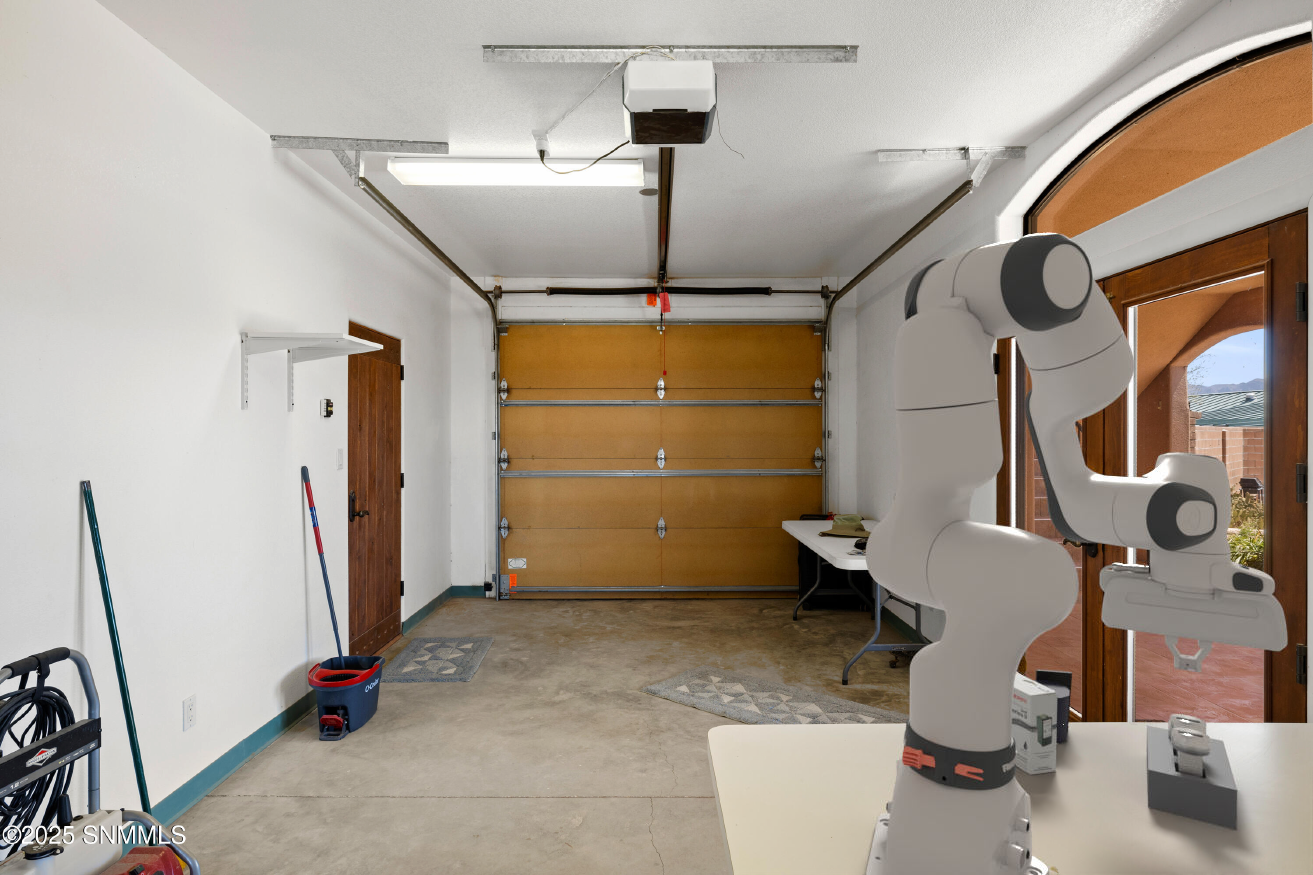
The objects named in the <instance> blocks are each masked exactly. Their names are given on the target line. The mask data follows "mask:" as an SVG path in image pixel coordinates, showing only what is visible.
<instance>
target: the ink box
mask: <svg viewBox="0 0 1313 875" xmlns="http://www.w3.org/2000/svg"><path fill="white" fill-rule="evenodd" d="M1012 736H1013V738H1014V739H1015V744H1016V751H1017V762H1016V768H1017V767H1018V768H1019V769H1020V770H1022V771H1024V772H1025V773H1027V774H1028V775H1038V774H1039V775H1040V774H1045V773H1051V772H1056V770H1057V744H1056V737H1057V693H1056V692H1055V691H1054V690H1052V689H1050V688H1048V687H1046V686H1044V685H1042V684H1039V683H1037V682H1035V680H1033V679H1031V678H1029V677H1027V676H1025V675H1022V674H1021V673H1017V672H1016V676H1015V681H1014V692H1013V707H1012Z"/></svg>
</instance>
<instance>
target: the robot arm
mask: <svg viewBox="0 0 1313 875" xmlns="http://www.w3.org/2000/svg"><path fill="white" fill-rule="evenodd" d="M904 296H905V297H904V306H903V307H904V310H903V311H904V322H903V323H902V325H901V326H900V327H899V329H898V331H897V334H896V337H895V344H894V345H895V346H894V354H893V355H894V357H893V378H892V379H893V400H894V401H893V402H894V411H895V421H896V422H895V423H896V433H897V436H896V437H897V449H898V450H897V451H898V463H899V465H898V466H899V469H898V480H897V486H896V490H895V495H894V498H893V501H892V504H891V506H890V509H889V511H888V512H887V514H886V516H884V518H883V519H882V520H881V521H880V522H878V523H877V524H876V525H875V527H874V528H873V529H872V531H871V533H870V535H869V536H868V540H867V542H866V546H865V562H866V566H867V567H866V568H867V571H868V573H869V574H870V575H869V576H871V577H872V578H873V580H874V582H875V583H878V585H880V586H881V587H883V588H885V589H886V590H888V591H890V592H891V593H893V594H895V595H896V596H899V597H901V598H902V599H904V600H906V601H910V602H914V603H917V604H918V605H919V604H920V605H923V606H927V607H930V608H933V609H936V610H942V611H943V612H944V613H945V625H944V626H945V627H944V630H943V633H942V636H941V638H940V640H939V641H936V642H933V643H930V644H927V645H925V646H924V647H923V648H921V649H920V650H919V651H918V652H916V654H914V656H913V658H912V660H911V662H910V665H909V717H908V719H907V721H906V724H905V730H904V733H903V750H902V753H901V754H902V756H901V757H900V758H898V759H896V776H895V783H894V788H893V794H892V800H888V801H887V803H886V806H885V807H886V811H887V812H882V813H880V814H878V815H877V820H876V824H875V829H874V833H873V838H872V843H871V847H870V852H869V856H868V861H867V866H866V869H865V870H866V871H865V875H1050V869H1049V867H1048V866H1047V865H1046V864H1045V863H1044V862H1043V861H1041V860H1039V859H1038V858H1037V857H1035V856H1034V855H1033V842H1032V841H1033V839H1032V838H1033V836H1032V832H1033V831H1032V810H1031V808H1032V806H1031V804H1032V803H1031V797H1030V795H1029V794H1028V793H1027V791H1026V790H1024V788H1023V787H1022V786H1021V784H1020V783H1019V782H1018V779H1017V778H1016V776H1015V775H1016V774H1017V766H1016V762H1017V751H1016V744H1015V739H1014V738H1013V736H1012V707H1013V692H1014V681H1015V676H1016V673H1017V672H1018V668H1019V665H1020V662H1021V660H1022V658H1023V657H1024V655H1025V653H1026V651H1027V649H1028V648H1029V646H1030V645H1031V644H1032V643H1033V642H1034V641H1035V640H1036V639H1038V637H1040V636H1041V635H1042V634H1044V633H1045V632H1048V631H1050V630H1052V629H1054V628H1056V627H1058V626H1059V625H1060V624H1061V623H1062V622H1064V621H1065V620H1066V618H1067V617H1069V615H1070V614H1071V612H1073V608H1074V607H1075V605H1076V602H1077V600H1078V596H1079V590H1080V588H1079V587H1080V584H1079V583H1080V580H1079V575H1078V569H1077V567H1076V564H1075V562H1074V559H1073V558H1072V556H1071V555H1070V553H1069V552H1068V550H1067V549H1066V548H1065V547H1064V546H1063V545H1062V544H1060V543H1058V541H1054V540H1052V539H1049V538H1046V537H1043V536H1041V535H1039V534H1036V533H1033V532H1030V531H1027V530H1024V529H1021V528H1017V527H1014V526H1012V527H1011V526H1005V525H1000V524H999V525H998V524H991V523H983V522H978V521H977V522H976V521H972V520H971V516H970V509H971V501H972V497H973V495H974V492H975V491H976V490H977V489H979V488H981V487H982V486H984V485H985V484H987V483H989V482H990V481H991V480H992V479H994V478H995V476H997V474H998V473H999V472H1000V470H1001V468H1002V465H1003V461H1004V451H1003V443H1002V442H1003V441H1002V434H1001V433H1002V431H1001V421H1000V409H999V408H1000V407H999V399H998V398H999V397H998V388H997V382H996V381H997V380H996V377H995V376H996V375H995V369H994V366H993V365H994V364H993V361H992V356H991V353H992V349H993V347H994V343H995V342H996V340H1000V339H1006V338H1011V337H1015V340H1016V343H1017V345H1018V348H1019V351H1020V353H1021V356H1022V358H1023V360H1024V363H1025V364H1026V365H1025V366H1026V367H1027V369H1028V372H1029V375H1030V378H1031V386H1032V387H1031V388H1030V389H1029V390H1028V392H1027V394H1026V397H1025V400H1024V401H1025V402H1024V411H1025V417H1026V423H1027V427H1028V430H1029V434H1030V437H1031V442H1032V446H1033V448H1034V449H1033V450H1034V452H1035V454H1036V455H1035V456H1036V459H1037V462H1038V465H1039V469H1040V472H1041V475H1042V479H1043V482H1044V486H1045V491H1046V503H1047V506H1046V507H1047V511H1048V516H1049V518H1050V522H1051V524H1053V526H1054V528H1055V529H1056V530H1057V532H1058V533H1059V534H1060V535H1061V536H1062V537H1063V538H1065V539H1066V540H1068V541H1071V542H1075V543H1086V544H1088V543H1089V544H1105V545H1109V546H1118V547H1125V548H1130V549H1140V550H1141V549H1142V550H1148V551H1149V565H1142V564H1123V563H1120V562H1114V563H1112V564H1110V565H1105V566H1104V567H1102V569H1101V570H1100V572H1099V580H1098V581H1099V583H1098V584H1099V587H1100V589H1101V590H1102V591H1103V592H1104V594H1103V599H1102V601H1103V602H1102V608H1101V617H1100V618H1101V621H1102V622H1103V623H1104V625H1105V626H1106V627H1107V628H1113V629H1119V630H1120V629H1121V630H1127V631H1133V632H1134V631H1135V632H1141V633H1148V634H1156V635H1161V636H1164V641H1165V645H1166V646H1167V648H1168V650H1169V651H1170V652H1171V654H1172V655H1173V667H1174V669H1176V670H1183V671H1189V672H1194V673H1202V662H1203V661H1204V660H1205V659H1206V658H1207V656H1208V655H1209V653H1211V652H1212V650H1213V643H1217V644H1223V645H1224V644H1225V645H1232V646H1236V647H1237V646H1239V647H1244V648H1245V647H1246V648H1253V649H1260V650H1268V651H1273V652H1281V651H1282V650H1283V649H1285V648H1286V647H1287V646H1288V630H1287V622H1286V617H1285V616H1286V615H1285V613H1284V609H1283V607H1282V604H1281V603H1280V602H1279V600H1278V599H1277V598H1276V596H1274V595H1273V594H1274V592H1275V589H1276V583H1275V579H1273V577H1272V576H1271V575H1269V574H1268V573H1266V572H1264V571H1262V570H1259V569H1256V568H1253V567H1250V566H1247V565H1244V564H1243V563H1238V562H1235V561H1232V560H1231V556H1232V555H1231V554H1232V552H1231V546H1230V543H1229V541H1228V532H1229V531H1228V530H1229V527H1230V525H1231V521H1232V496H1231V495H1232V494H1231V493H1232V492H1231V486H1230V479H1229V478H1230V477H1229V474H1228V471H1227V467H1226V465H1225V463H1224V462H1223V461H1222V460H1220V459H1218V458H1216V457H1214V456H1212V455H1211V456H1210V455H1206V454H1198V453H1192V452H1191V453H1190V452H1167V453H1164V454H1163V453H1162V454H1160V455H1158V457H1157V459H1156V461H1155V466H1154V469H1153V470H1151V471H1150V472H1148V473H1146V474H1143V475H1142V476H1141V477H1140V476H1137V477H1129V476H1115V475H1114V476H1113V475H1104V474H1101V473H1098V472H1095V471H1093V470H1092V469H1090V468H1088V466H1087V465H1086V462H1085V459H1084V456H1083V451H1082V447H1081V444H1080V440H1079V436H1078V432H1077V430H1076V429H1077V427H1076V422H1078V421H1080V420H1082V419H1085V418H1088V417H1091V416H1092V415H1095V414H1096V413H1098V412H1100V411H1102V410H1104V409H1105V408H1106V407H1108V406H1109V405H1111V404H1112V403H1114V402H1115V401H1116V400H1117V399H1118V398H1119V397H1120V396H1121V395H1122V394H1123V393H1124V392H1125V391H1126V389H1127V388H1128V386H1129V384H1130V383H1131V381H1132V378H1133V375H1134V372H1135V360H1134V355H1133V352H1132V347H1131V346H1130V343H1129V340H1128V338H1127V337H1126V334H1125V332H1124V330H1123V327H1122V324H1121V323H1120V320H1119V318H1118V315H1117V314H1116V313H1115V310H1114V309H1113V306H1112V305H1111V304H1110V302H1109V300H1108V298H1107V297H1106V295H1105V292H1103V291H1102V290H1101V288H1100V286H1099V284H1098V283H1097V282H1096V281H1095V279H1094V276H1093V270H1092V265H1091V262H1090V260H1089V257H1088V255H1087V253H1086V252H1085V250H1083V248H1082V247H1081V246H1080V245H1079V244H1077V243H1076V242H1075V241H1074V240H1073V239H1072V238H1070V237H1069V236H1067V235H1065V234H1062V233H1056V232H1055V233H1054V232H1053V233H1052V232H1046V233H1045V232H1043V233H1033V234H1027V235H1024V236H1021V237H1020V238H1019V239H1012V240H1006V241H1001V242H997V243H992V244H989V245H988V244H986V245H985V244H984V245H983V244H982V245H979V246H975V247H973V248H969V249H967V250H964V251H961V252H958V253H955V254H953V255H952V256H950V257H948V258H942V259H938V260H935V261H933V262H932V263H929V264H927V265H926V266H925V267H923V268H922V269H920V270H919V271H918V272H917V273H916V274H915V275H914V276H912V278H911V280H910V281H909V283H908V286H907V288H906V291H905V295H904ZM1179 638H1182V639H1183V638H1184V639H1189V640H1196V641H1197V645H1198V648H1199V650H1198V651H1197V652H1196V653H1195V655H1187V654H1181V653H1180V651H1179V650H1178V648H1177V647H1176V645H1178V643H1179Z"/></svg>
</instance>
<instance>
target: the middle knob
mask: <svg viewBox="0 0 1313 875" xmlns="http://www.w3.org/2000/svg"><path fill="white" fill-rule="evenodd" d="M1169 720H1170V732H1171V731H1172V729H1173V728H1188V729H1193V730H1196V731H1199V732H1202V733H1204V734H1206V735H1207V722H1206V721H1204V720H1203V719H1200V718H1198V717H1196V716H1193V715H1189V714H1188V715H1187V714H1182V713H1181V714H1179V713H1174V714H1173V713H1172V714H1170V715H1169ZM1176 752H1177V757H1178V750H1176Z"/></svg>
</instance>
